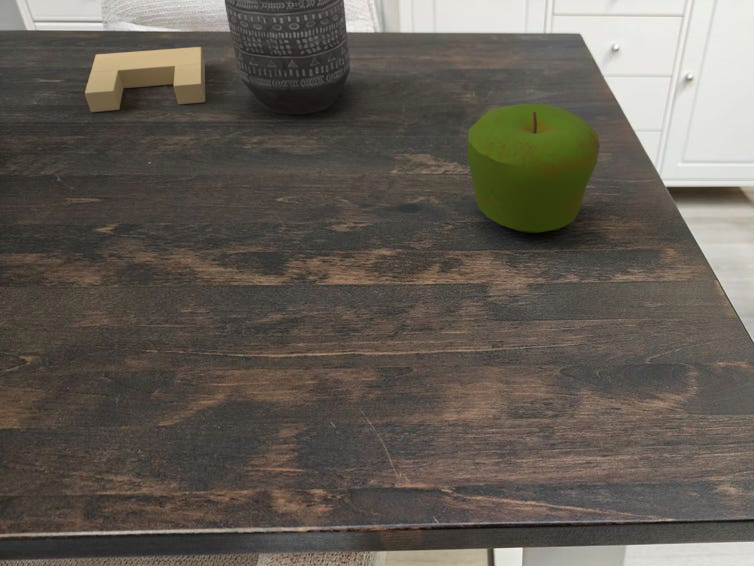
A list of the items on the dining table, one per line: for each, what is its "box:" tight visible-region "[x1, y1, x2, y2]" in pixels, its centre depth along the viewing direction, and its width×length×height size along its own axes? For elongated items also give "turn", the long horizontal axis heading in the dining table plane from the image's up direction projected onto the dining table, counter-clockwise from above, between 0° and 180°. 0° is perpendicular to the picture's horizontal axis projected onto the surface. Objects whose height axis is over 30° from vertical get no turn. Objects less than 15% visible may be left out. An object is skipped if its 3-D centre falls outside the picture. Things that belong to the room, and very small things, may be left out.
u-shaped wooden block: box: [84, 46, 206, 113], centre depth 100 cm, size 14×14×2 cm
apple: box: [467, 103, 600, 234], centre depth 73 cm, size 12×12×11 cm
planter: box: [224, 0, 351, 116], centre depth 94 cm, size 14×14×15 cm
